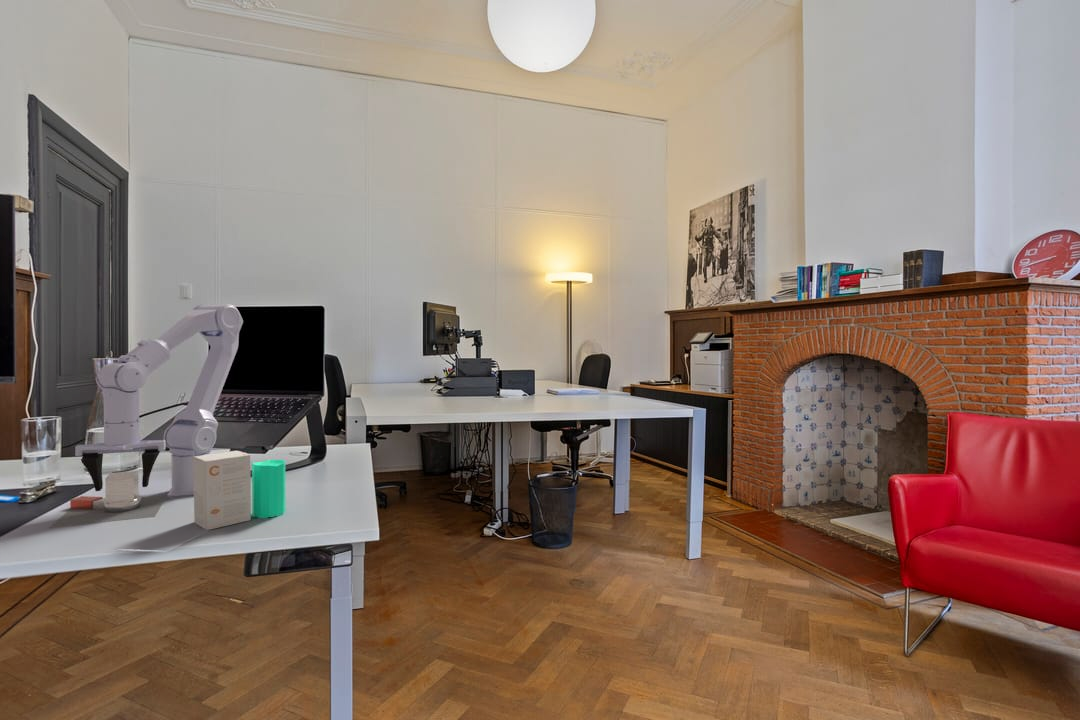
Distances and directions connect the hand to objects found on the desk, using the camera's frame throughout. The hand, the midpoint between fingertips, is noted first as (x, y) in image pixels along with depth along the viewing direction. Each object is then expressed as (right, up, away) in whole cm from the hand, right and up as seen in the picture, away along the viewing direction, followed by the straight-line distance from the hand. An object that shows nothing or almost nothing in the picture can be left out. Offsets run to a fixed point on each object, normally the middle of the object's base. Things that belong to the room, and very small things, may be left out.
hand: (122, 487), depth 112 cm
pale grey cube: (0, -2, 0) cm, 2 cm away
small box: (+24, -5, -6) cm, 26 cm away
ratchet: (-4, -4, 0) cm, 5 cm away
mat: (-1, -5, -1) cm, 5 cm away
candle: (+30, -5, -1) cm, 31 cm away
